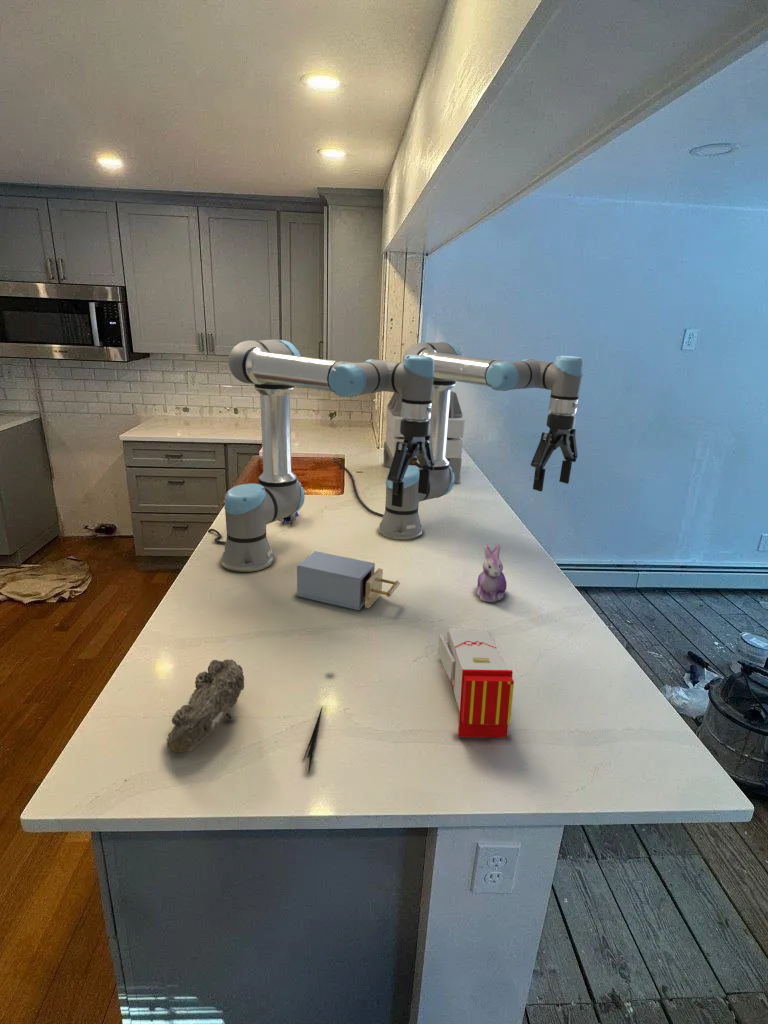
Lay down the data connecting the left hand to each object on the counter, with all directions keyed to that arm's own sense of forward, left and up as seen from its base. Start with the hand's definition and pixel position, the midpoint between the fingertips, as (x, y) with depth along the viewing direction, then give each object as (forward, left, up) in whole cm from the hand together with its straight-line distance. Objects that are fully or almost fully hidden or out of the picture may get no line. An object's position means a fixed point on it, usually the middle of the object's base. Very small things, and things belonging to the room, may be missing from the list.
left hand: (410, 499), depth 149 cm
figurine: (+20, +14, -28) cm, 37 cm away
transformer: (-59, +109, -28) cm, 127 cm away
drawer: (-9, -12, -27) cm, 30 cm away
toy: (+34, -29, -28) cm, 52 cm away
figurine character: (-63, +21, -28) cm, 72 cm away
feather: (+14, -54, -28) cm, 62 cm away
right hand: (+26, +37, 0) cm, 45 cm away
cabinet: (-14, -13, -28) cm, 34 cm away
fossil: (-3, -66, -28) cm, 71 cm away
